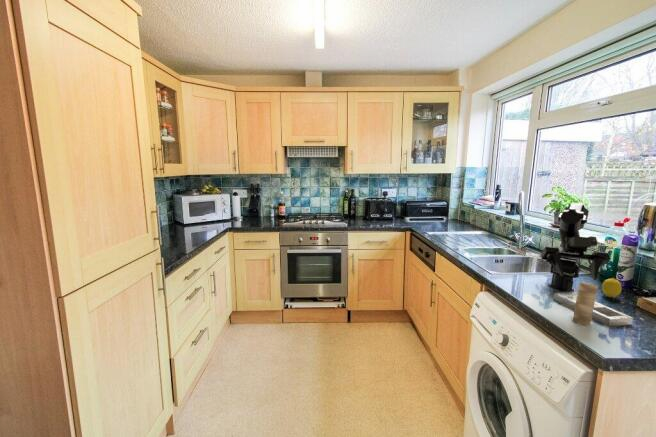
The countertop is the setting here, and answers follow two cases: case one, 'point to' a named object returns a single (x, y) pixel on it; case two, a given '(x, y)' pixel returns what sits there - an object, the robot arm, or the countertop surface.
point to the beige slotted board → (596, 310)
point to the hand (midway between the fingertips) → (578, 277)
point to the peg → (585, 303)
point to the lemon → (611, 287)
